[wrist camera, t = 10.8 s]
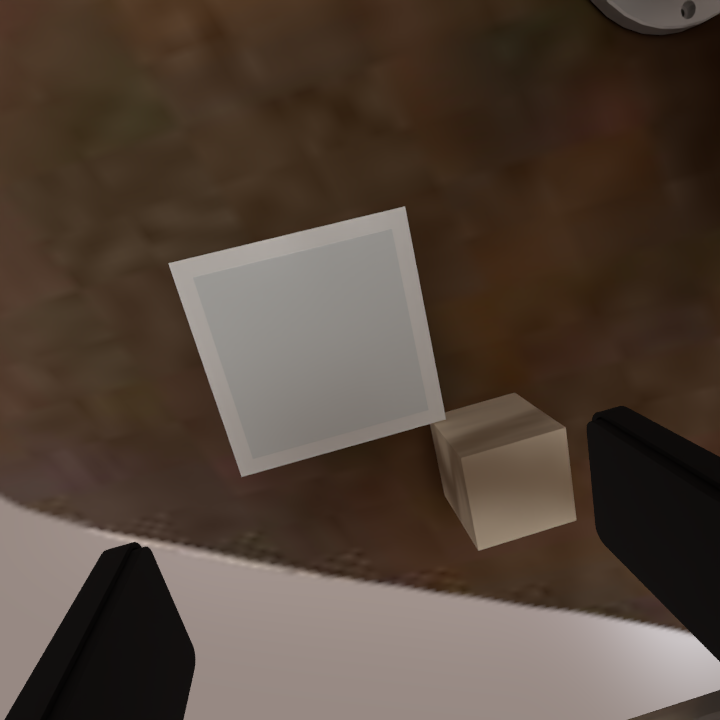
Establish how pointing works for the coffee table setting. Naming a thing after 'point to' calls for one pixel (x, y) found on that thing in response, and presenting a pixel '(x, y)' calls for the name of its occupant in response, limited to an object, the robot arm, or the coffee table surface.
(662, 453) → the robot arm
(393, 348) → the plate
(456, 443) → the maple cube
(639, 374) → the coffee table surface
